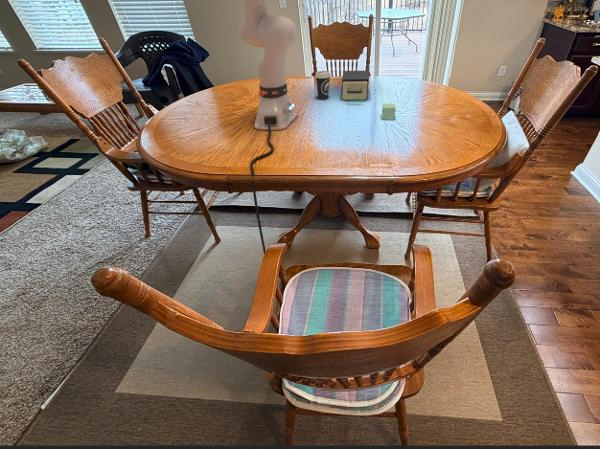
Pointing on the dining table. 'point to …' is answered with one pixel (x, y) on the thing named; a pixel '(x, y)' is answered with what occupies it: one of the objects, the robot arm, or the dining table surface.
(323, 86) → the coffee cup
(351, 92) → the drawer
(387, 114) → the block
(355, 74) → the cabinet
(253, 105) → the dining table surface
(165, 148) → the dining table surface
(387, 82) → the dining table surface
